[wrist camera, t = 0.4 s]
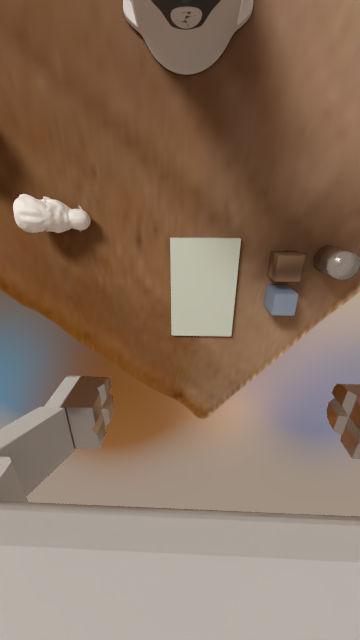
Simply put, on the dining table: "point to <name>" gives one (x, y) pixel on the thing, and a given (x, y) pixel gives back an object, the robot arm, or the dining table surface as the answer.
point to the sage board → (203, 285)
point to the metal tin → (337, 262)
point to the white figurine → (48, 215)
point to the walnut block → (286, 266)
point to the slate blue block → (280, 300)
